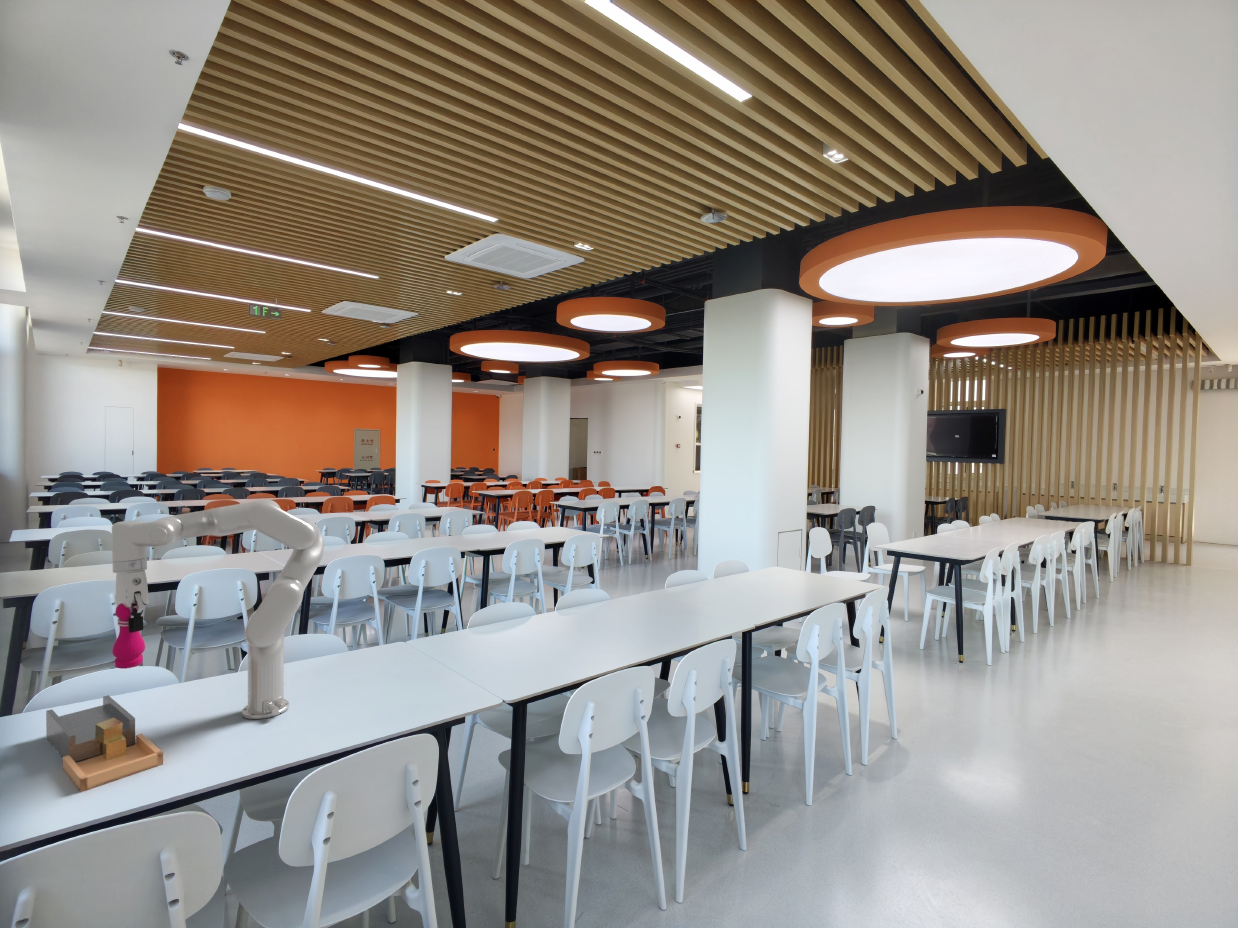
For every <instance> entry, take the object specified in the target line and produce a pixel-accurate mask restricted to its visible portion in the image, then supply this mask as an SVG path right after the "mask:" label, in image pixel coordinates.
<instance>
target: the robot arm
mask: <svg viewBox="0 0 1238 928" xmlns="http://www.w3.org/2000/svg"><path fill="white" fill-rule="evenodd" d="M255 530H256V531H257V532H259V533H261V534H262V535H265V536H266V537H268V538H271V539H273V540H274V541H275V542H276V541H277V542H278V543H280V544H281V545H283V546H286V547H288V548H290V549H293V550H292V552H291V554H290V556H289V558H288V560H287V561H286V563H285V565H284V566H283V567H282V570H281V571H280V573H279V574H278V576H277V578H275V579H274V581H273V582H272V583H271V584H270V586H269V588H268V591H267V592H266V595H265V597H264V598H263V599H262V601H261V602H260V604H259V606H258V607H257V609H256V610H255V611H253V613H252V614H251V615H250V616H249V618H248V620H247V623H246V626H245V629H244V638H245V640H246V642H247V705H246V706H244V707H243V708H242V709H241V716H242V717H244V718H245V719H249V720H250V719H251V720H259V719H260V720H262V719H267V718H268V719H269V718H273V717H275V716H278V715H280V713H281V714H283V713H284V712H285V711H287V710H288V709H289V708H290V702H289V700H288V699H285V698H284V695H285V694H284V693H285V689H284V687H285V681H284V678H285V676H284V675H285V672H284V671H285V669H284V668H285V667H284V665H285V661H284V660H285V631H286V629H287V627H288V626H289V624H290V622H291V620H293V618H294V616H295V615H296V613H297V611H298V609H299V608H300V606H301V604H302V602H303V598H304V594H305V593H304V592H305V590H306V588H307V586H308V584H309V582H311V581H310V580H311V579H312V578H313V577H314V574H315V572H316V570H317V568H318V567H319V565H320V563H321V560H322V558H323V554H324V550H325V549H324V547H325V544H324V543H325V542H324V537H323V534H322V532H321V530H320V528H319V526H317V524H316V523H315V522H314V521H313V520H311V519H309V518H306V517H300V518H298V517H296V516H295V515H292V514H291V513H289V512H287V511H285V510H283V509H281V506H280V505H279V504H278V503H277V502H276V501H274V500H272V499H261V500H255V501H249V502H242V503H237V504H231V505H224V506H220V507H219V506H218V507H213V508H209V509H205V510H200V511H199V510H198V511H193V512H187V513H180V514H176V515H175V514H174V515H170V516H169V515H168V516H165V517H164V516H163V517H161V518H158V519H156V520H152V521H147V522H144V521H143V520H125V521H118V522H115V523H113V525H112V526H111V551H112V553H111V554H112V555H111V557H112V573H113V574H116V576H115V600H116V601H115V602H116V603H117V604H118V605H119V604H121V603H122V604H123V605H124V606H125V607H127V608H129V615H130V618H128V626H129V632H130V633H132V632H137V631H139V632H140V631H143V630H144V608H145V606H148V604H149V590H148V589H149V588H148V580H147V578H148V577H147V574H146V570H148V557H147V556H148V554H147V553H148V549H147V548H148V547H151V548H161V547H162V548H163V547H166V546H170V544H173V543H174V542H175V541H180V540H185V539H191V538H196V537H202V536H203V537H204V536H215V537H225V536H228V535H229V536H230V535H236V534H240V533H244V532H245V533H246V532H250V531H255ZM133 604H136V606H132V605H133ZM135 608H136V609H135ZM133 609H134V612H133Z"/></svg>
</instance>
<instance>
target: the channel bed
mask: <svg viewBox="0 0 1238 928" xmlns="http://www.w3.org/2000/svg"><path fill="white" fill-rule="evenodd" d="M45 714H46V716H45V718H46V719H45V720H46V721H45V722H46V723H45V726H46V727H45V728H46V737H47V738H48V739H47V738H46V739H47V741H48V742H49V741H50V742H51V743H52V744H51V743H50V742H49V743H50V744H51V745H52V747H53V746H54V747H55V748H54V747H53V748H54V749H55V750H56V751H58V752H59V753H58V752H57V753H58V755H60V757H61V756H62V757H61V758H62V759H63V757H65V756H68V755H69V756H70V757H71V758H72V759H73V760H74V762H75V763H77V762H81V761H84V760H87V759H90V758H94V757H97V756H100V755H103V747H102V743H101V742H99V741H98V740H96V739H95V731H96V724H98V723H101V722H103V721H106V720H109V719H112V718H115V719H117V720H119V721H121V722H122V723H123V725H122V735H123V736H124V737H125V739H126V747H129V746H132V745H136V718H135V716H134V715H132V714H131V713H129V711H127V709H125V708H124V707H123V706H122V705H120V704H119V703H118V702H117V701H116V700H115V699H113V698H112V697H111V696H110V695H105V696H102V705H98V706H94V707H91V708H87V709H83V710H79V711H75V712H71V713H67V714H63V715H58V714H57V713H56V712H55V711H54V710H53V708H52V709H48V710H46V712H45Z"/></svg>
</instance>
